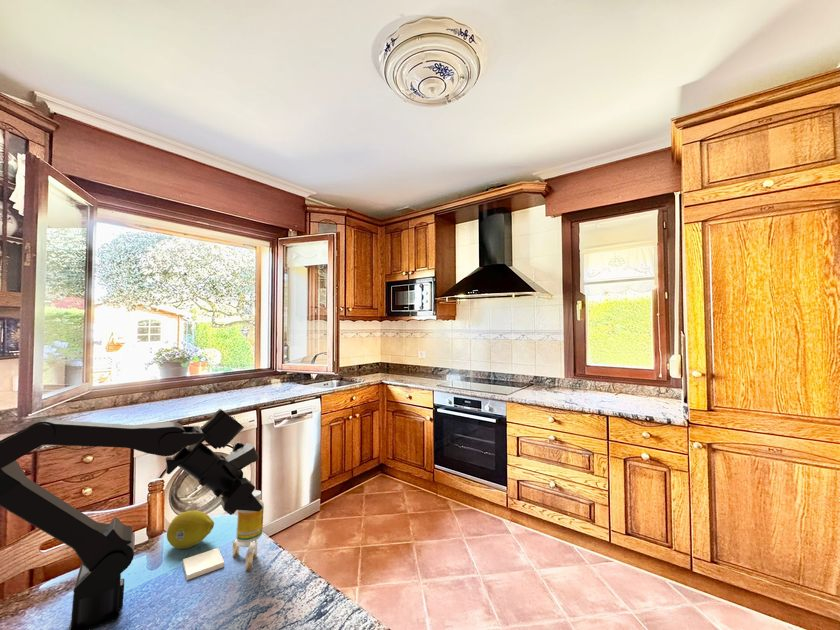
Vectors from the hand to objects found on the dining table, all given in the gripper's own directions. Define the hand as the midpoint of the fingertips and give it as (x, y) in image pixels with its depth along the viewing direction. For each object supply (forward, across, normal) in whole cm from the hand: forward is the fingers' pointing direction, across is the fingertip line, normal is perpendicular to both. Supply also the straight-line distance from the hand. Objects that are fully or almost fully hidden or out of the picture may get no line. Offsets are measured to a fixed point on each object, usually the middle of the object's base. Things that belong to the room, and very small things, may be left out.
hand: (257, 504), depth 81 cm
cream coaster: (+2, +5, +16) cm, 17 cm away
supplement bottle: (+4, 0, +6) cm, 7 cm away
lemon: (+1, +16, +17) cm, 24 cm away
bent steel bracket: (+7, +2, +10) cm, 13 cm away
